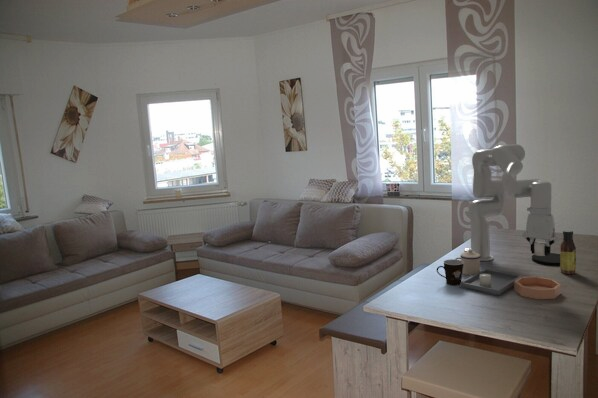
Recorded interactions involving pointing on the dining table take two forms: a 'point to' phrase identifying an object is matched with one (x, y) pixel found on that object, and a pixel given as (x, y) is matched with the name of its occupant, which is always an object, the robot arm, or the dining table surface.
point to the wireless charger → (547, 259)
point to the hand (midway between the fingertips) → (540, 253)
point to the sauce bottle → (568, 253)
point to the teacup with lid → (470, 262)
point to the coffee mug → (452, 271)
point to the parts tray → (498, 282)
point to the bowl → (537, 287)
